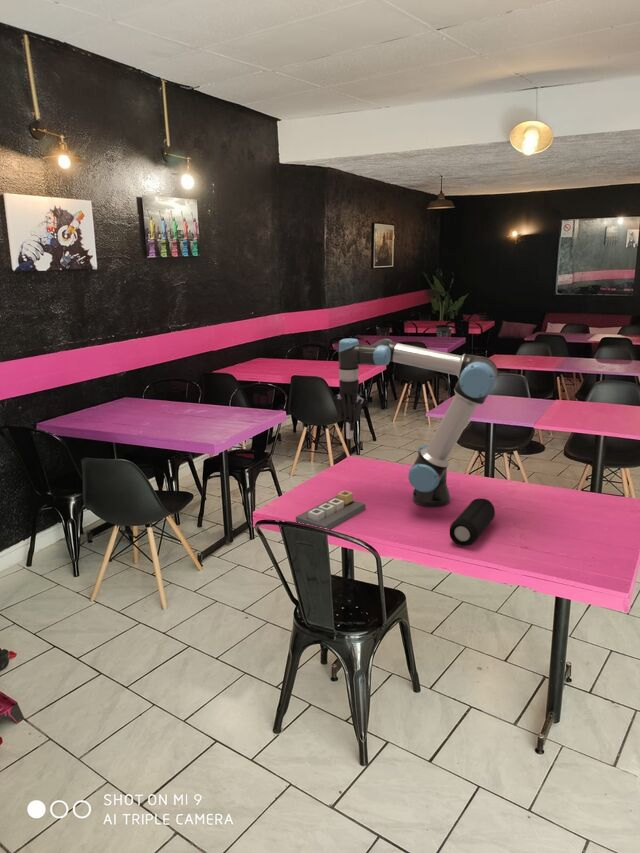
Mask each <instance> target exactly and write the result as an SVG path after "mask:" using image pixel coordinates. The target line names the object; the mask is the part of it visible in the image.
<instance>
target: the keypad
mask: <svg viewBox="0 0 640 853" xmlns="http://www.w3.org/2000/svg"><path fill="white" fill-rule="evenodd" d="M335 498H336V499H338V496H337V495H336V496H334V497H332V498H330V499H328V500H325V501H323V502H322V503H320V504H318V505H316V506H314V507H312V508H310V509H309V510H307V511H304V512H302V513H301V514H299V515H297V516H295V523H296V522H300V523H304V524H309V525H313V526H317V527H322V528H327V529H330V530H332V529H334V528H335V527H337V526H339V525H341V524H342V523H344V522H346V521H348V520H350V519H352V518H354V517H355V516H356V515H358V514H360V513H362V512H363V511H366V503H363V502H362V501H357V500H354V499H353V501H352V502H350V503H348V504H344V508H343V509H341V510H339V511H335V513H334V514H332V515H330V516H328V517H327V516H325V519H323V520H321V521H319V522H315V521H312V520H309V519H308V512H309V511H311V510H313V509H315V508H316V509H318V507H319V506H321V505H323V504H325V503H327V504H328V502H329V501H331V500H333V499H335Z"/></svg>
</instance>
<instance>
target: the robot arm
mask: <svg viewBox="0 0 640 853" xmlns="http://www.w3.org/2000/svg"><path fill="white" fill-rule="evenodd" d="M390 362H393V363H398V364H401V365H402V364H403V365H406V366H407V365H408V366H410V367H411V366H412V367H417V368H421V369H424V370H431V371H435V372H440V373H443V374H449V375H452V376H453V375H454V376H457V378H458V380H457V382H456V383H455V385H454V386H455V387H454V389H453V391H454V394H455V395H454V397H453V399H452V401H451V403H450V404H449V407H448V408H447V410H446V411H445V414H444V416H443V417H442V419H441V421H440V423H439V425H438V427H437V428H436V431H435V433H434V434H433V436H432V438H431V440H430V442H429V444H424V445H419V447H418V451H417V457H416V459H415V461H414V463H413V465H412V466H411V467H410V469H409V470H408V475H407V476H408V481H409V483H410V485H411V486H412V488H413V489H414V490H413V491H412V501H413V502H414V503H415V504H417V505H419V506H423V507H428V508H430V507H431V508H438V507H439V508H441V507H444V506H447V505H448V504H449V503H450V501H451V494H450V491H449V488H448V484H447V474H448V473H447V472H448V466H449V464H450V463H449V461H448V460H449V459H448V458H449V457H450V455H451V453H452V451H453V450H454V448H455V446H456V444H457V442H458V440H459V439H460V437H461V435H462V433H463V432H464V430H465V428H466V426H467V424H469V421H470V419H471V417H472V415H473V414H474V412H475V410H476V409H477V407H478V406H481V405H483V404H484V403H485V402H486V399H487V398H488V396H489V394H490V393H491V391H492V390H493V388H494V387H495V383H496V381H497V379H498V374H499V371H498V367H497V365H496V363H495V361H493V360H492V359H490V358H488V357H485V356H480V355H474V354H467V353H463V354H462V355H459V354H453V353H449V352H443V351H440V350H434V349H430V348H424V347H419V346H415V345H410V344H406V343H405V344H403V343H399V342H396V341H395V342H394V341H392V340H391V339H389V338H383V339H379V340H378V341H376V342H375V343H373V344H360V343H359V340H358V339H357V338H342V339H341V340H339V341H338V379H339V382H338V384H339V392H338V394H336V395H334V397H333V398H334V400H335V402H336V406H337V410H338V414H339V419H340V420H342V421H343V422H344V430H345V435H346V436H345V437H346V439H347V440H351V439H352V438H354V430H355V426H356V424H355V423H356V422H358V421H360V418H361V412H362V408H363V404H364V401H365V398H364V397H361V396H360V393H359V389H360V380H359V379H360V378H359V375H360V370H359V368H360V366H364V365H365V366H378V367H381V366H382V367H383V366H387V365H389V364H390ZM359 365H360V366H359Z"/></svg>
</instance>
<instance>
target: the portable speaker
mask: <svg viewBox="0 0 640 853" xmlns="http://www.w3.org/2000/svg"><path fill="white" fill-rule="evenodd" d="M495 513H496V512H495V506H494V504H493V503H492V502H491V501H490V500H488V499H487V498H476V499H474V500H472V501H471V502H470V503H469V504H468V506H466V507H465V509H464V510H463V511H462V512H461V513H460V514H459V515H458V516H457V517H456V518H455V519H454V520H453V522H452V523H451V524H450V526H449V538H450V539H451V540H452V542H453V543H454V544H456V545H457V546H460V547H467V546H471V545H473V544H474V543H475V542H476V541H477V540H478V539H479V537H480V536H481V535H482V533H483V532H484V531H485V530H486V528H487V527H488V526H489V525H490V523H492V522H493V520H494V518H495Z"/></svg>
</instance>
